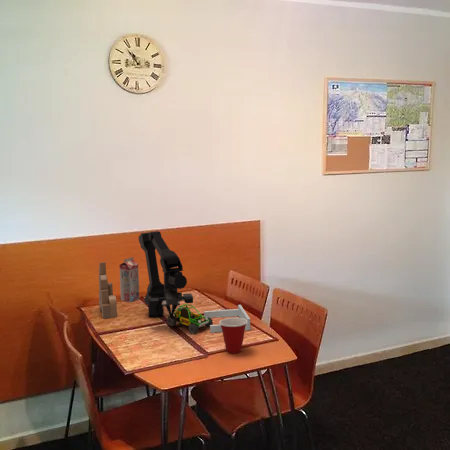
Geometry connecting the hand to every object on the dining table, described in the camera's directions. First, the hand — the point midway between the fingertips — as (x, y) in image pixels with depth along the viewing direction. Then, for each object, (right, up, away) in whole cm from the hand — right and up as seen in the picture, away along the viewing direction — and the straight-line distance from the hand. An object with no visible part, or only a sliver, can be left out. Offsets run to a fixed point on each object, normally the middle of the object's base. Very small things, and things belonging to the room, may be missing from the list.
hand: (171, 318), depth 208 cm
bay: (+23, -3, +5) cm, 24 cm away
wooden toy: (-32, -2, +20) cm, 38 cm away
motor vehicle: (+8, -4, +2) cm, 9 cm away
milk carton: (-26, +2, +41) cm, 48 cm away
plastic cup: (+26, -8, -23) cm, 36 cm away
